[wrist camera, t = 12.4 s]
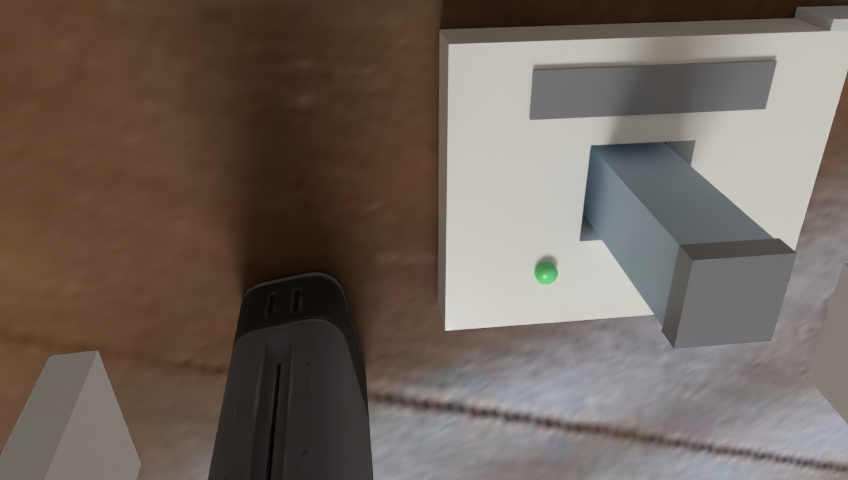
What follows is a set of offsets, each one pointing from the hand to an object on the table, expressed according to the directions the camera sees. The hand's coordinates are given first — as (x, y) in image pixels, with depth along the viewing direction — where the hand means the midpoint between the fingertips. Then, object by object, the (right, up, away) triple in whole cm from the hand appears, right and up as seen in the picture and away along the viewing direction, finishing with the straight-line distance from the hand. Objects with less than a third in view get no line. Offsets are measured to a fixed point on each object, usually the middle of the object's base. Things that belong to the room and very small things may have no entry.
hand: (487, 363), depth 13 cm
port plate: (+10, +6, +27) cm, 29 cm away
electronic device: (-8, -4, +30) cm, 31 cm away
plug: (+10, +6, +27) cm, 29 cm away
